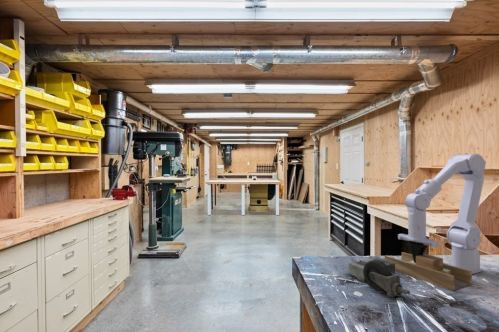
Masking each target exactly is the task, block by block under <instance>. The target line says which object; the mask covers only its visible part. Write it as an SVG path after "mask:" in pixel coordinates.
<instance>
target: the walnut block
mask: <svg viewBox="0 0 499 332" xmlns="http://www.w3.org/2000/svg"><path fill="white" fill-rule="evenodd" d="M443 263H444V258H443V257H440V256H435V255H432V254H428V253H423V255H419V256H416V265H419V266H423V267H426V268H429V269H432V270H436V271H440V270H443Z"/></svg>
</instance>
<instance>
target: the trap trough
mask: <svg viewBox="0 0 499 332" xmlns="http://www.w3.org/2000/svg"><path fill="white" fill-rule="evenodd" d="M400 253H401V257H400V259H399V258H397V257H396V258H395V257H393V256H389V255H384V260H387V261H390V262H393V263H395V272H397V273H401V274H402V275H406V276H409V277H412V278H414V279H417V280H419V281H423V282H425V283H429V284H432V285H434V286H436V287H439V288H440V287H441V288H443V289H447V290H449V291H451V292H455V291H457V290H460V289H463V288H466V287H469V286H472V285H473V274H472V271H469V270H466V269H462V268H459V267H455V266H452V264H447V263H444V262H443V270H440V271H436V270H432V269H429V268H426V267H423V266H419V265H416V263H414V260H413V256H412V253H407V252H400Z"/></svg>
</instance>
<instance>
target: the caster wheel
mask: <svg viewBox="0 0 499 332" xmlns="http://www.w3.org/2000/svg"><path fill="white" fill-rule="evenodd" d="M363 274H364V278H365V280H366V284H367V285H368V286H369V287H370V288H371V289H373V290H375V291H386V296H387V297H389V298H394V297H396V296H397V297H400V296H401V295H403V294H404V295H405V294H406V295H410V290H408V289H406V288H405V289H404V287H403V285H402V283H401V279H400V277H401V276H400V275H399V274H396V273H395V274H393V273H391V270H390V269H389V267H388V266H387V265H386V264H385V263H384V262H382V261H380V260H371V261H369V262H367V263H366V264H365V266H364V270H363Z"/></svg>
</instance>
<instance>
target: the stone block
mask: <svg viewBox="0 0 499 332" xmlns="http://www.w3.org/2000/svg"><path fill="white" fill-rule="evenodd" d="M371 260H380V261H382V262H384V263H385V264H386V265H387V266H388V267H389V269H390V270H391V273H393V274H396V271H395V263H393V262H390V261H387V260H385V258H384V259H383V258H380V257H375V258H372V259H371V258H370V259H367V260H366V259H365V260H359V261H355V262H350V263H348V271H349V275H350V276H351V277H352V278H355V279H357V280H358V281H360V282H362V283H366V284H367V282H366V280H365V278H364V274H363V270H364V266H365V264H366V263H367V262H369V261H371Z"/></svg>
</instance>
